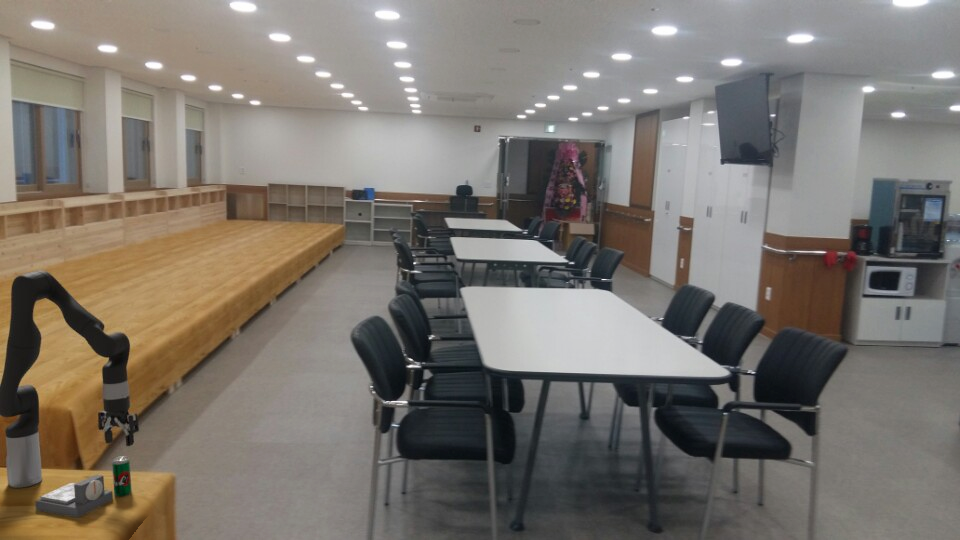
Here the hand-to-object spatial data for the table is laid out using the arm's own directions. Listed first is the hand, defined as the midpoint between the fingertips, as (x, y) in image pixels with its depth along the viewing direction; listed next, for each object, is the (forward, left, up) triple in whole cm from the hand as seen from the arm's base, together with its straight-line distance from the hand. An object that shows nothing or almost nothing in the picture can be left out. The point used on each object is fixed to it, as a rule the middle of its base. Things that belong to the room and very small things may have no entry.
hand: (119, 444), depth 224 cm
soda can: (0, 0, -17) cm, 17 cm away
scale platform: (-10, -11, -14) cm, 20 cm away
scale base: (-8, -11, -17) cm, 22 cm away
